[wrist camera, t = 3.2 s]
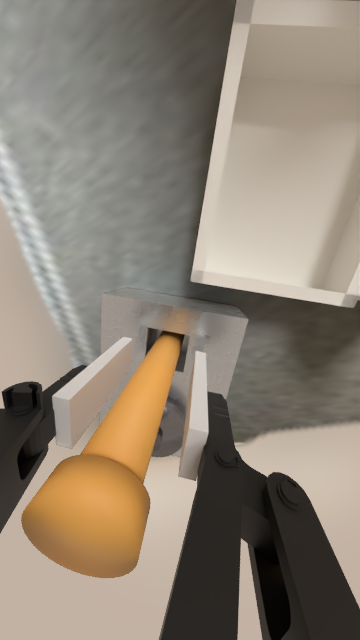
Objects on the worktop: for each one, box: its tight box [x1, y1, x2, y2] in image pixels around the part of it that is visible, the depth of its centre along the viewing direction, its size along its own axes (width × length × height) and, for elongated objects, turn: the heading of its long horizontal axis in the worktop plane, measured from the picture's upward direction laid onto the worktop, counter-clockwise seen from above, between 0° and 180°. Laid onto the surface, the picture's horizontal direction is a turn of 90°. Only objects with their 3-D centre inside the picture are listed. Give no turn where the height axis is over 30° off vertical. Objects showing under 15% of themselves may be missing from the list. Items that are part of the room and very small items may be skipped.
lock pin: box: [21, 330, 185, 578], centre depth 12 cm, size 3×3×15 cm
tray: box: [190, 0, 360, 308], centre depth 13 cm, size 16×13×4 cm
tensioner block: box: [100, 288, 248, 457], centre depth 17 cm, size 16×12×8 cm
